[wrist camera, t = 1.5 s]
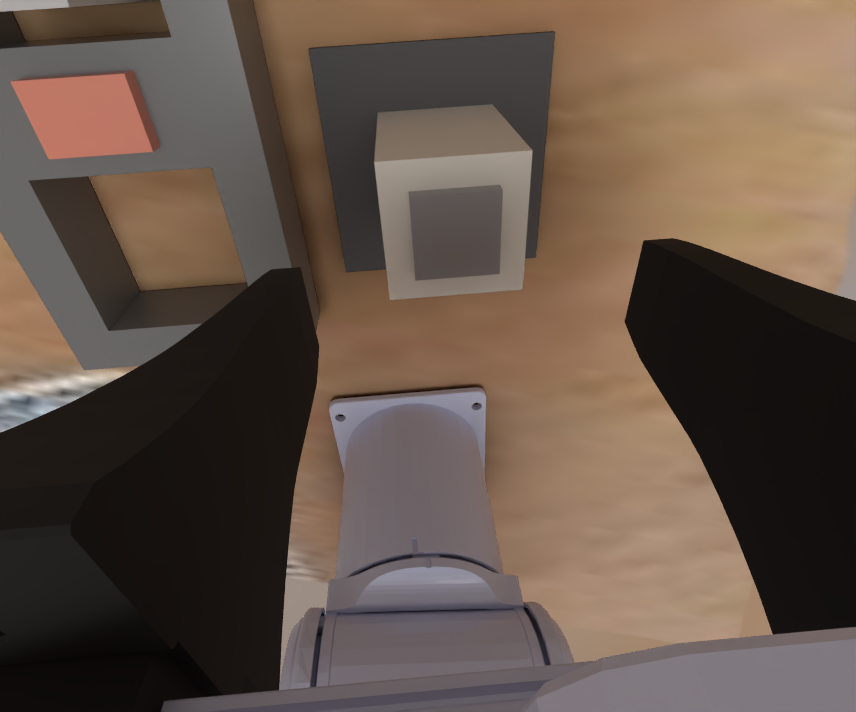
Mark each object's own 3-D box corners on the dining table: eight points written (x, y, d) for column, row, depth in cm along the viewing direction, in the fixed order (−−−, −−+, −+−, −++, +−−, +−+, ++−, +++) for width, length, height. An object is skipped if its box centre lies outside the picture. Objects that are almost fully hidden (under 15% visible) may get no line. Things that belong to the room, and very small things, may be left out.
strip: (331, 364, 24) (317, 459, 19) (143, 379, 24) (82, 479, 19) (175, -357, 11) (21, -606, 7) (-228, -337, 11) (-688, -576, 6)
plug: (489, 215, 20) (525, 296, 15) (389, 223, 20) (389, 307, 15) (492, 104, 17) (536, 154, 12) (377, 112, 17) (373, 166, 12)
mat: (534, 254, 21) (535, 257, 21) (346, 268, 21) (346, 272, 21) (552, 31, 16) (555, 32, 16) (309, 48, 16) (308, 48, 16)
